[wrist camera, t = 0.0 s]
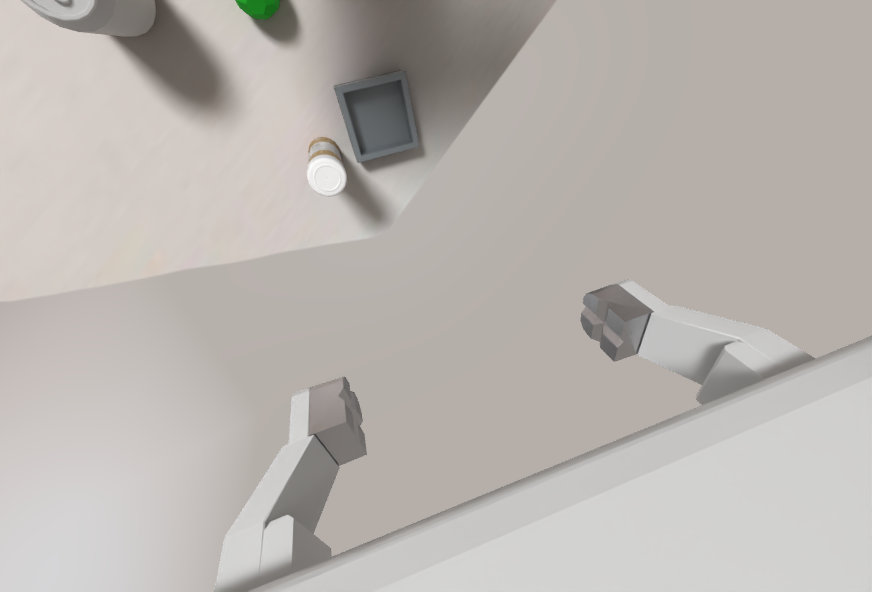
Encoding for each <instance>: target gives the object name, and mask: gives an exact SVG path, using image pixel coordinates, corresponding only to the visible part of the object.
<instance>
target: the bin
mask: <svg viewBox="0 0 872 592" xmlns="http://www.w3.org/2000/svg"><path fill="white" fill-rule="evenodd" d="M334 89H335V92H336V95H337V98H338V102H339V105H340V108H341V111H342V115H343V118H344V121H345V124H346V128H347V131H348V134H349V137H350V141H351V144H352V147H353V150H354V154H355V157H356V160H357V162H358V163H359V162H363V161H367V160H370V159H374V158H378V157H382V156H386V155H390V154H394V153H397V152H401V151H405V150H409V149H413V148H417V147H419V141H418V136H417V131H416V125H415V120H414V115H413V109H412V104H411V98H410V93H409V88H408V82H407V77H406V72H405V71H396V72H392V73H388V74H383V75H379V76H374V77H370V78H366V79H361V80H357V81H352V82H348V83H344V84H339V85H335V86H334Z"/></svg>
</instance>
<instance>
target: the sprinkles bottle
mask: <svg viewBox="0 0 872 592" xmlns="http://www.w3.org/2000/svg"><path fill="white" fill-rule="evenodd" d="M308 152H309V155H308V167H307V179H308V183H309V185H310V186H311V188H312V189H313V190H314V191H315V192H317V193H318V194H320V195H323V196H335V195H337V194H339V193H340V192H342V191H343V189H344V188H345V186H346V182H347V175H346V171H345V168H344V166H343V163H342V159H341V156H340V151H339V148H338V146H337V144H336V143H335V142H334V141H332V140H331V139H329V138H326V137H319V138H317V139H315V140H313V141H312V142H311V144H310V146H309V151H308Z"/></svg>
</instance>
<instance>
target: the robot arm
mask: <svg viewBox="0 0 872 592" xmlns="http://www.w3.org/2000/svg"><path fill="white" fill-rule="evenodd" d="M583 303H584V305H585V306H586V308H585V309H584V310H583V311H582V313H581V323H582V326H583V329H584V330H585V332H586V333H587V335H588V336H589V337H590V338H591V339H594V340H597V341H600V348H601V349H602V350H603V351H604V352H605V353H606V354H607V355H608V356H609V357H610V358H611V359H612V360H613V361H618V360H621V359H623V358H626V357H629V356H632V355H635V354H638V356H640V357H643V358H645V359H647V360H649V361H651V362H653V363H656V364H658V365H660V366H662V367H665V368H667V369H669V370H671V371H673V372H675V373H678V374H680V375H682V376H684V377H686V378H688V379H691V380H693V381H695V382H697V383H699V384H701V385H702V387H701V389H700V390H699V392H698V394H697V398H696V400H697V401H698V402H699V403H700V404H702V406H699V407H697V408H694V409H692V410H689V411H687V412H685V413H682V414H680V415H677V416H675V417H673V418H670V419H667V420H665V421H663V422H660V423H658V424H656V425H653V426H650V427H648V428H645V429H643V430H641V431H638V432H636V433H633V434H631V435H628V436H626V437H623V438H621V439H619V440H616V441H614V442H611V443H609V444H606V445H604V446H601V447H599V448H597V449H594V450H592V451H589V452H587V453H585V454H582V455H579V456H577V457H575V458H572V459H570V460H568V461H565V462H563V463H560V464H558V465H555V466H553V467H550V468H548V469H545V470H543V471H540V472H538V473H535V474H533V475H531V476H528V477H526V478H523V479H521V480H518V481H516V482H513V483H511V484H509V485H506V486H504V487H501V488H499V489H497V490H494V491H492V492H489V493H487V494H484V495H482V496H479V497H477V498H474V499H472V500H470V501H467V502H465V503H462V504H460V505H457V506H455V507H452V508H450V509H448V510H445V511H443V512H440V513H438V514H436V515H433V516H431V517H428V518H426V519H423V520H421V521H418V522H416V523H413V524H411V525H409V526H406V527H404V528H401V529H399V530H396V531H394V532H391V533H389V534H387V535H384V536H382V537H379V538H377V539H375V540H372V541H370V542H367V543H365V544H362V545H360V546H358V547H355V548H352V549H350V550H348V551H346V552H343V553H340V554H338V555H335V556H333V557H331V548H330V547H329V546H327V545H326V544H325V543H324V542H322V541H321V540H320V539H319V538H318V537H316V536H315V535H314V534H313V533H314V531H315V528H316V526H317V523H318V521H319V518H320V516H321V513H322V511H323V508H324V506H325V503H326V500H327V498H328V495H329V493H330V490H331V488H332V485H333V483H334V480H335V478H336V475H337V473H338V470H339V466H340V465H342V464H345V463H347V462H350V461H352V460H354V459H357V458H359V457H362V456H364V455H367V452H366V444H365V437H364V433H363V431H362V429H361V427H360V425H361V423H362V421H363V420H362V413H361V410H360V405H359V402H358V399H357V397H356V395H355V393H354V392H352V391H350V385H349V382H348V381H347V379H346V377H342V378H338V379H335V380H332V381H329V382H326V383H322V384H319V385H316V386H313V387H310V388H307V389H304V390H301V391H298V392H295V393H294V394H293V397H292V404H291V418H290V431H289V444H286V445H284V446H283V447H282V449H281V450H280V452H279V453H278V455H277V456H276V458H275V459H274V461H273V463H272V464H271V466H270V467H269V469H268V471H267V472H266V474H265V475H264V477H263V478H262V480H261V481H260V483H259V485H258V486H257V488H256V489H255V491H254V492H253V494H252V495H251V497H250V499H249V500H248V502H247V503H246V505H245V506H244V508H243V510H242V511H241V513H240V514H239V516H238V517H237V519H236V520H235V522H234V524H233V525H232V527H231V528H230V530H229V531H228V533H227V535H226V536H225V539H224V544H223V549H222V554H221V559H220V565H219V570H218V576H217V580H216V586H215V591H214V592H872V336H870V337H868V338H865V339H863V340H861V341H858V342H856V343H853V344H851V345H848V346H846V347H843V348H841V349H838V350H836V351H834V352H831V353H829V354H826V355H824V356H821V357H819V358H817V359H815V358H814V357H812V356H810V355H809V354H807V353H805V352H804V351H802V350H801V349H799V348H797V347H795V346H794V345H792V344H791V343H789V342H787V341H786V340H784V339H782V338H781V337H779V336H777V335H776V334H774V333H773V332H771V331H769V330H768V329H765V328H761V327H757V326H754V325H750V324H746V323H742V322H738V321H734V320H730V319H726V318H722V317H718V316H714V315H710V314H706V313H702V312H698V311H694V310H691V309H687V308H683V307H679V306H675V305H673V306H670V307H669V306H668V305H666V304H665V303H664V302H662V301H661V300H659V299H658V298H657V297H655V296H654V295H652V294H651V293H649V292H648V291H646V290H645V289H644V288H642V287H641V286H640V285H638V284H637V283H635V282H634V281H632V280H629V279H627V280H624V281H621V282H618V283H615V284H613V285H609V286H606V287H604V288H601V289H598V290H595V291H592V292H590V293H587V294H586V295H585V296H584V299H583Z"/></svg>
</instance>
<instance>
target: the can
mask: <svg viewBox="0 0 872 592" xmlns="http://www.w3.org/2000/svg"><path fill="white" fill-rule="evenodd" d="M21 1H22V2H23V3H25V4H26V5H27V6H28V7H30V8H31V9H32V10H33V11H35V12H36V13H37V14H38V15H40V16H41V17H43V18H45V19H47V20H48V21H50V22H52V23H54V24H56V25H58V26H60V27H63V28H67V29H70V30H74V31H77V32H86V33H95V34H105V35H114V36H124V37H133V36H140V35H142V34H144V33H146V32H148V31H149V29H150V28H151V27H152V25H153V24H154V20H155V16H156V7H155V0H21Z"/></svg>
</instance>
